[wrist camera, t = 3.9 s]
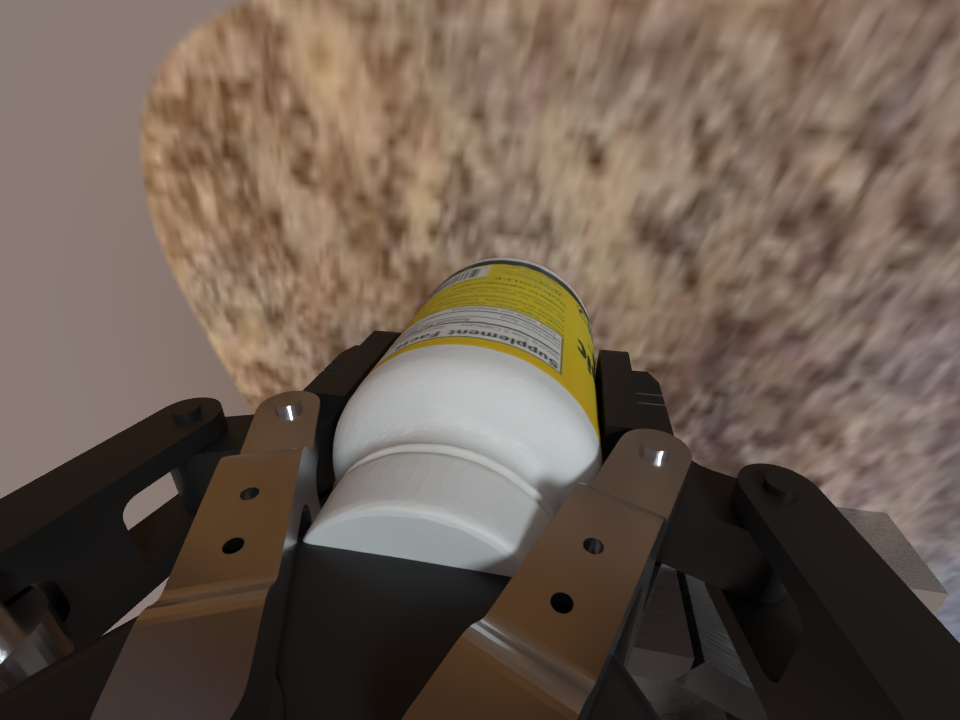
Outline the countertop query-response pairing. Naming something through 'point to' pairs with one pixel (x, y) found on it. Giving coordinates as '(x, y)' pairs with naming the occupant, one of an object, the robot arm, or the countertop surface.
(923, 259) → the countertop surface
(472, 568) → the supplement bottle
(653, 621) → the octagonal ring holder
